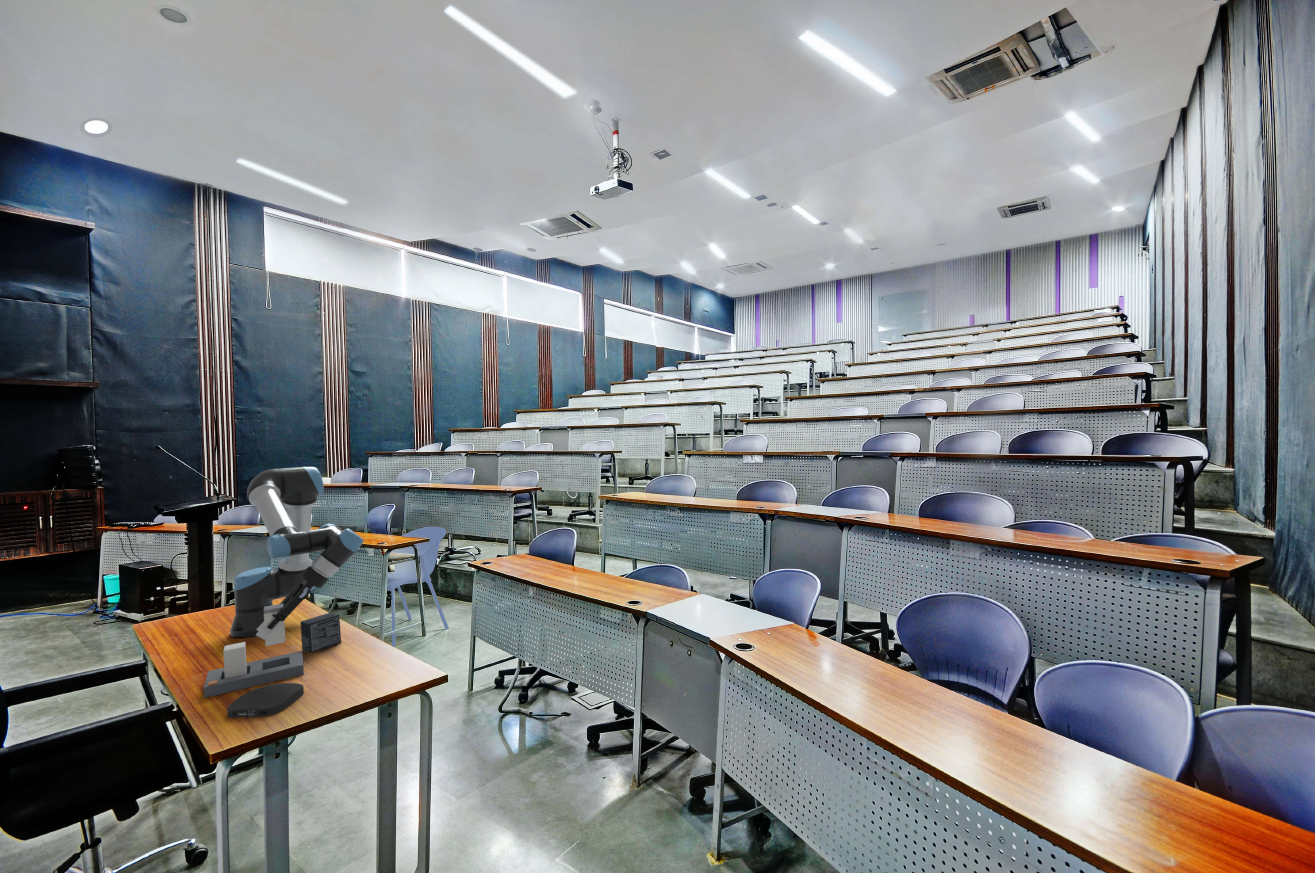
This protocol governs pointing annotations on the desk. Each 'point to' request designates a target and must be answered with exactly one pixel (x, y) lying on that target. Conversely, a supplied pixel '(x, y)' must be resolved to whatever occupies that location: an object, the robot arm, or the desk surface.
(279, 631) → the white plug
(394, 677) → the desk surface
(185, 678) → the desk surface
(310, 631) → the small box
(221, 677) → the gray slotted dock
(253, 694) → the media streaming box
